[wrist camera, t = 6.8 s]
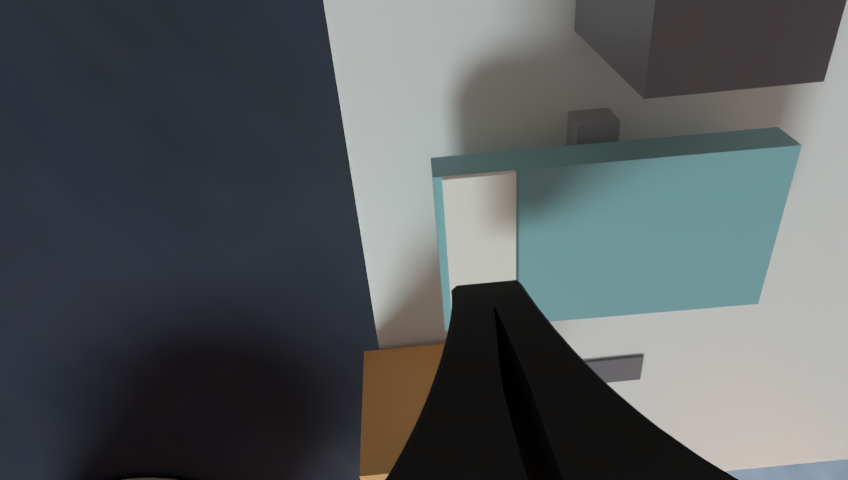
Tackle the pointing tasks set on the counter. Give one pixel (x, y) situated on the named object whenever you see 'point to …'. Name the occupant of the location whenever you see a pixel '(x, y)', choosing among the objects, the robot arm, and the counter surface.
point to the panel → (596, 123)
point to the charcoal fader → (711, 42)
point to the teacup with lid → (149, 479)
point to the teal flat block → (617, 221)
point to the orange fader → (393, 403)
